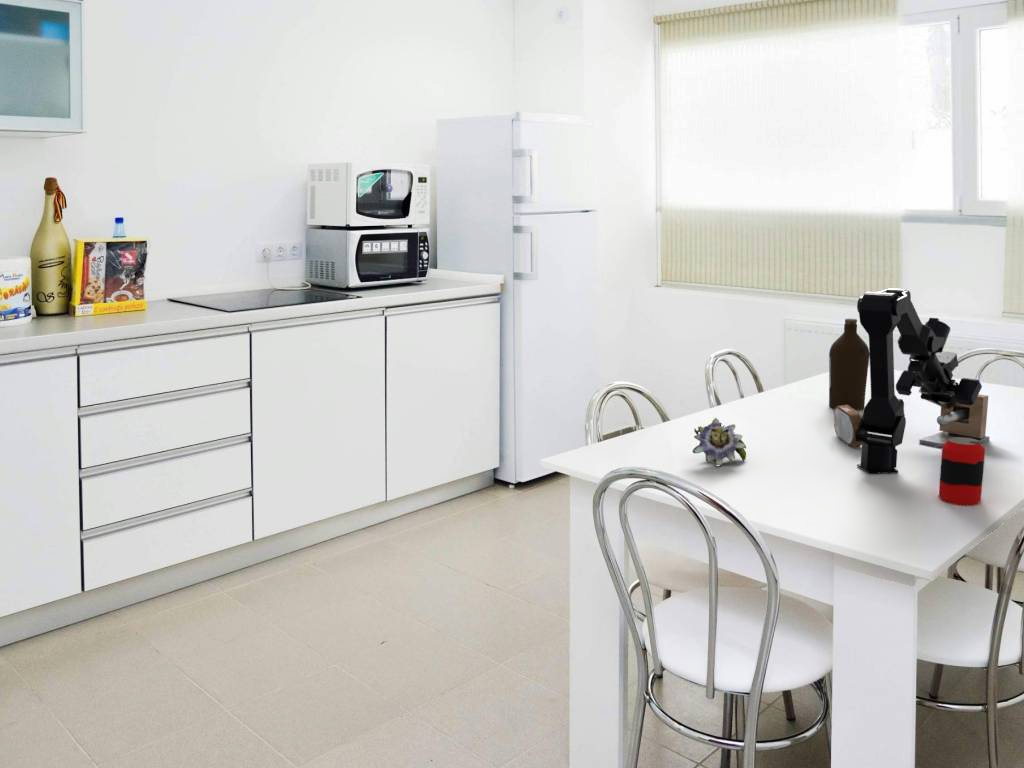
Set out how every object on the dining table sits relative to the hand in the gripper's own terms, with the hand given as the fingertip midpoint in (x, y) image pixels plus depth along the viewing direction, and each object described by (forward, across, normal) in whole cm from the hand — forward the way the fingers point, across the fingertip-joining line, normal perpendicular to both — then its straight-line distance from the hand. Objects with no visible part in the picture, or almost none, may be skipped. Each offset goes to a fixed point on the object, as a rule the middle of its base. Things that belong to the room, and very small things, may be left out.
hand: (947, 407), depth 232 cm
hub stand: (+4, -3, +7) cm, 9 cm away
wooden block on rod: (+5, -3, +3) cm, 7 cm away
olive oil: (+15, +35, -4) cm, 39 cm away
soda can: (-25, -25, +37) cm, 51 cm away
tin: (-8, +14, +20) cm, 26 cm away
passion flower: (-34, +25, +46) cm, 62 cm away
